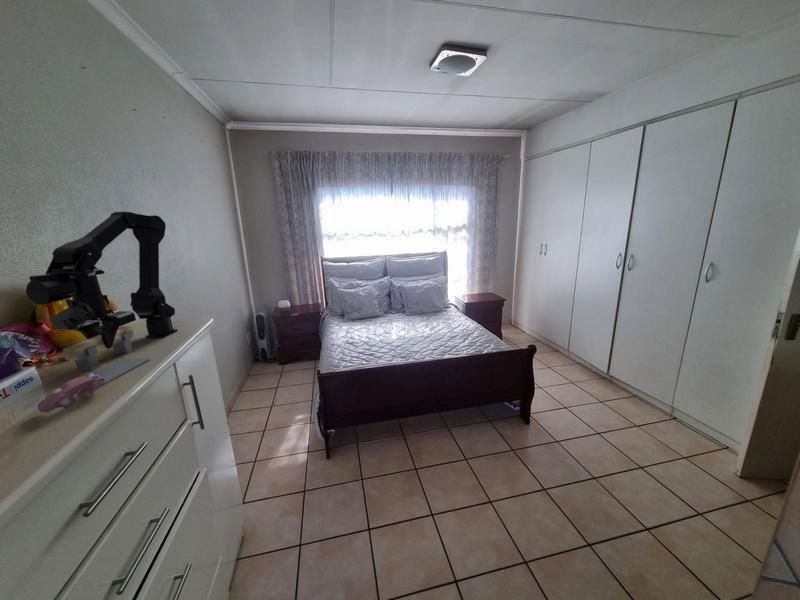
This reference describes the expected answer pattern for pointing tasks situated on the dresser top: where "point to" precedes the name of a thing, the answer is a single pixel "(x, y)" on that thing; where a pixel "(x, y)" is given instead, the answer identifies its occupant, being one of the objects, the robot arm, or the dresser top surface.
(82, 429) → the dresser top surface
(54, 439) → the dresser top surface
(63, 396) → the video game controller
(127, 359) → the slate mat
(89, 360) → the metal standards
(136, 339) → the dresser top surface
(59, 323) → the robot arm
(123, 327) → the birch rail
